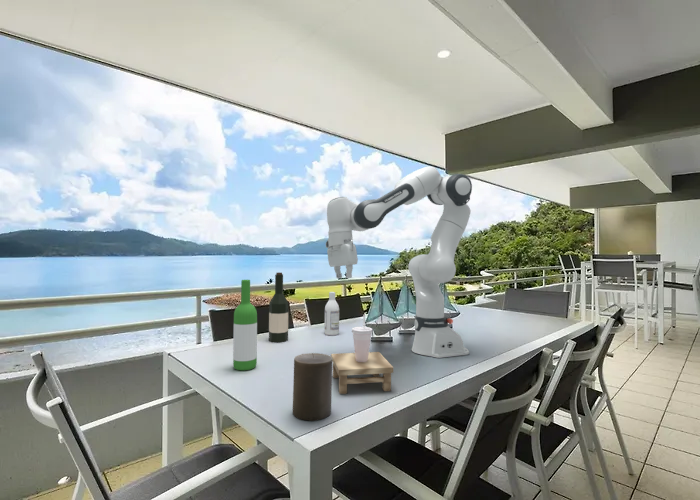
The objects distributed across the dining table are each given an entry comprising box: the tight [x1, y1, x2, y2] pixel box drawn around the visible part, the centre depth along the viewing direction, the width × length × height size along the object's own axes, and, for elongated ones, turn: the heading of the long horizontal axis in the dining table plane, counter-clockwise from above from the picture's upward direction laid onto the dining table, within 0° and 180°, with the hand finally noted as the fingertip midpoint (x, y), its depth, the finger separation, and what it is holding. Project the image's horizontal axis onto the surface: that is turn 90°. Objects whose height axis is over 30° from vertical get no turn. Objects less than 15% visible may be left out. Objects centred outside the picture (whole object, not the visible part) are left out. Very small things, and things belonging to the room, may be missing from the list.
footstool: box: [330, 351, 394, 395], centre depth 114 cm, size 16×16×7 cm
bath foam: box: [324, 291, 340, 336], centre depth 178 cm, size 7×7×20 cm
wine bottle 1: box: [232, 279, 258, 371], centre depth 127 cm, size 8×8×30 cm
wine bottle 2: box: [268, 272, 289, 344], centre depth 164 cm, size 8×8×30 cm
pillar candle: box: [292, 352, 333, 422], centre depth 94 cm, size 10×10×15 cm
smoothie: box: [351, 314, 373, 362], centre depth 114 cm, size 6×6×14 cm
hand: (343, 278), depth 137 cm, fingers open, 8 cm apart
